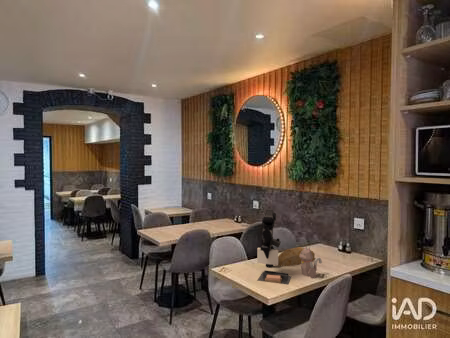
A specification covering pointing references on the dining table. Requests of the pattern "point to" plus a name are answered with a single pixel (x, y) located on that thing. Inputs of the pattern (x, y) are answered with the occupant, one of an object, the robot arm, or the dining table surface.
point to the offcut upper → (273, 277)
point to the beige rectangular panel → (271, 259)
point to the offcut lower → (273, 281)
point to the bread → (291, 257)
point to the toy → (308, 263)
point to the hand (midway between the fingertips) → (267, 258)
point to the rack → (284, 276)
